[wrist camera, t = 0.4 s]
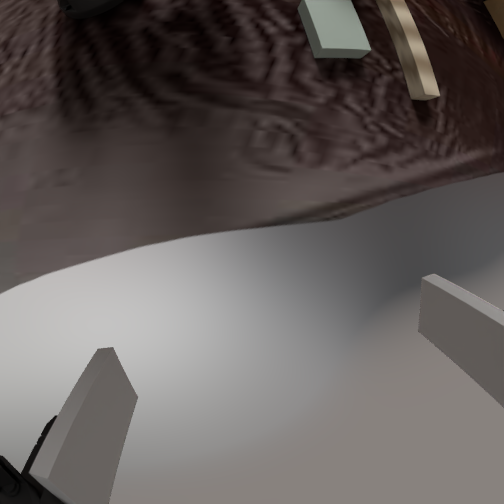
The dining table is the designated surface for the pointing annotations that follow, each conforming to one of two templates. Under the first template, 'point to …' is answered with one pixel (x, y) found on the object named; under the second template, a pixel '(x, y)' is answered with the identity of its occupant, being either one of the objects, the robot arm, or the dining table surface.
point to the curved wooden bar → (409, 49)
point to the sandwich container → (496, 13)
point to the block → (333, 29)
